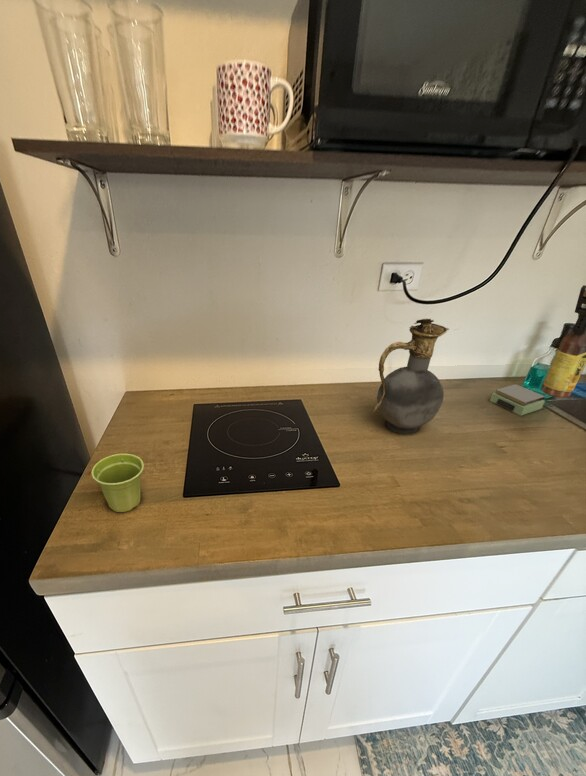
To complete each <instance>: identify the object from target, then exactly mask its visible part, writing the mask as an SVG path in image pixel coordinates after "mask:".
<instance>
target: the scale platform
mask: <svg viewBox="0 0 586 776" xmlns="http://www.w3.org/2000/svg"><path fill="white" fill-rule="evenodd" d="M494 393H498V394H500V395H502V396H504V397H506V398H509V399H511V400H513V401H515V402H518V403H520V404H522V405H527V404H531V403H534V402H537V401H540V400H545V397H546V396H545V395H543V394H540V393H538V392H536V391H532V390H530V389H528V388H525V387H523V386H521V385H519V384H516V383H514V384H511V385H508V386H504V387H500V388H496V389H495V391H494Z"/></svg>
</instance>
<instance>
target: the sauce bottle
mask: <svg viewBox="0 0 586 776" xmlns="http://www.w3.org/2000/svg"><path fill="white" fill-rule="evenodd" d="M577 315H578V314H577ZM578 317H579V315H578V316H577V318H578ZM585 368H586V332H585V333H584V334H577V333H574V332H573V329H572V330H570V331H569V332H568V333H567V334H566V335H564V336H563V338H562V339H561V341H560V344H559V346H558V348H557V349H556V351H555V354H554V357H553V359H552V361H551V364H550V365H549V368H548V371H547V372H546V376H545V377H544V380H543V383H542V386H541V391H542V392H543V393H544V394H545V395H548V396H551V397H555V398H559V399H560V398H569V397H570V396H571V394H572V393H573V391H574V390H575V388H576V386H577V384H578V382H579V381H580V378H581V375H582V373H583V372H584V369H585Z"/></svg>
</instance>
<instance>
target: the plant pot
mask: <svg viewBox="0 0 586 776" xmlns="http://www.w3.org/2000/svg"><path fill="white" fill-rule="evenodd" d="M144 469H145V465H144V461H143V460H142V458H141V457H139V456H138V455H136V454H132V453H116V454H112V455H108V456H106V457H104V458H102V459H100V460H98V462H96V463H95V464H94V466H93V467H92V469H91V477H92V478H93V480H94V481H95V482H96V483H97V484H98V486H99V488H100V490H101V491H102V493H103V496H104V498H105V500H106V503H107V505H108V507H109V508H110V509H111V510H112V511H114V512H117V513H126V512H130V511H131V510H133V509H134V508H136V507H138V506H139V505H140V503H141V494H142V493H141V492H142V491H141V489H142V488H141V487H142V486H141V485H142V484H141V483H142V481H141V480H142V474H143V471H144Z"/></svg>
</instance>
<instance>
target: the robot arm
mask: <svg viewBox="0 0 586 776" xmlns="http://www.w3.org/2000/svg"><path fill="white" fill-rule="evenodd" d="M575 305H576V306H575V309H574V313H576V314H577V315H579V317H578V316H577V319H576V322H575V323H574V325H573V328H572V330H573V332H574V333H577V334H584V333H585V332H586V285H585V284H584V285H582V286H581V288H580V291H579V294H578V298H577V302H576V304H575Z"/></svg>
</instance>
